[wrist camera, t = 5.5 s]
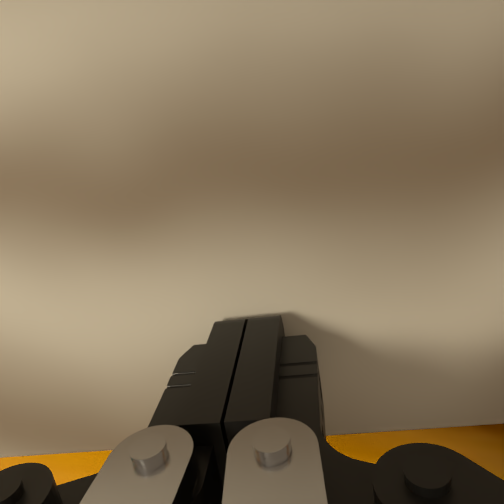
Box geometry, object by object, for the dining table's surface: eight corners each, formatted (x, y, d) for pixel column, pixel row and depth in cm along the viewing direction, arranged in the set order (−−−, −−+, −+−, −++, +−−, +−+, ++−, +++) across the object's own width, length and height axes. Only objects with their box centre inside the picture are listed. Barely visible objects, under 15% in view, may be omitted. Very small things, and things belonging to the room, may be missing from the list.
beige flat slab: (-246, -102, 11) (-363, -147, 9) (734, -364, 8) (869, -510, 6) (-45, 417, 15) (-96, 463, 13) (662, 360, 12) (731, 408, 10)
